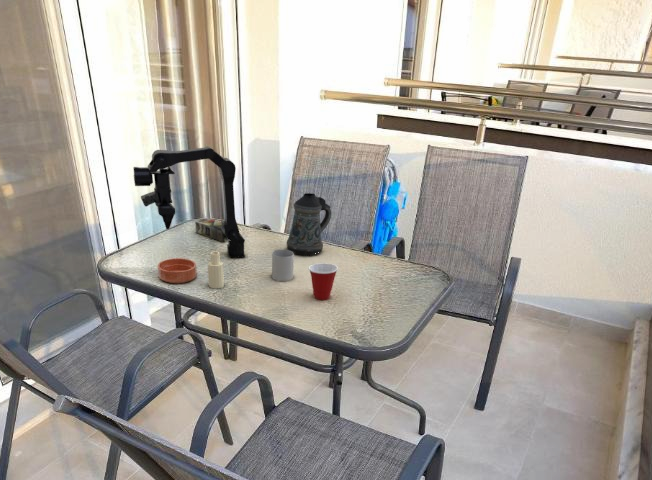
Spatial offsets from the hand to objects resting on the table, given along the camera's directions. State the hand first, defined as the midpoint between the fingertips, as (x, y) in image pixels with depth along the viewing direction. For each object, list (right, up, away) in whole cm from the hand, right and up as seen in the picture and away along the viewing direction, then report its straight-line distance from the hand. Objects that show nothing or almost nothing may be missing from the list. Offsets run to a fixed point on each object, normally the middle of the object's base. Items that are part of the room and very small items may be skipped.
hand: (166, 225), depth 203 cm
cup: (+47, -21, 0) cm, 51 cm away
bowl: (+7, -22, -7) cm, 24 cm away
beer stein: (+56, -4, +29) cm, 63 cm away
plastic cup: (+62, -31, -14) cm, 71 cm away
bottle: (+22, -26, -11) cm, 36 cm away
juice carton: (+13, +5, +38) cm, 40 cm away
